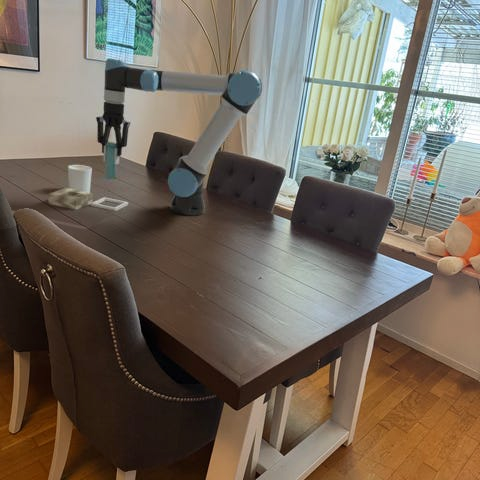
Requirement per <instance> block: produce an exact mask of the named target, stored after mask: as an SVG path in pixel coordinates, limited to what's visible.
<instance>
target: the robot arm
mask: <svg viewBox="0 0 480 480" xmlns="http://www.w3.org/2000/svg"><path fill="white" fill-rule="evenodd" d="M103 89H104V92H103V100H104V101H103V113H102V116H96V117H95V120H96V122H97V143H99V144H101V153H102V154H103V163H106V152H107V146H106V142H109V138H110V134H111V130H112V128H113V130H114V134H115V143H116V144H117V147H116V148H115V155H114V164H116V165H119V164H120V157H121V156H122V152H123V151H122V149H123V148H125V147H127V145H128V137H129V128H130V125H131V122H130V121H127V120H126V119H125V118H124V112H125V105H124V103H125V95H126V90H125V89H133V90H138V91H142V92H143V91H144V92H145V93H147V92H152V93H154V92H156V91H160V92H161V91H164V92H175V93H177V92H178V93H188V94H199V95H200V94H202V95H210V96H211V95H213V96H214V95H215V96H220V99H221V103H220V105H219V107H218V108H217V109H216V111H215V112H214V114H213V116H212V117H211V119H210V121H209V122H208V123H207V125H206V127H205V129H204V130H203V131H202V133H201V135H200V136H199V138H198V139H197V141H196V142H195V143H194V145H193V147H191V150H190V151H189V153H188V155H183V156H181V157H179V158H178V162H177V165H176V166H175V167H174V169H172V171H171V172H169V175H168V177H167V178H168V179H167V184H168V185H167V186H168V188H169V190H170V191H171V192H172V194H174V195H173V198H172V200H171V202H170V205H169V207H170V210H171V211H172V212H174V213H176V214H179V213H180V214H179V215H183V214H184V215H185V216H200V215H204V214H205V211H206V206H205V201H204V196H203V194H204V186H205V178H206V176H207V174H208V169H207V168H208V166H209V164H210V163H211V162H212V160H213V158H214V157H215V155H216V154H217V152H218V150H219V149H221V146H222V145H223V143H224V142H225V141H226V138H228V136H229V134H230V133H231V131H232V130H233V129H234V127H235V125H236V124H237V123H238V121H239V119H240V118H241V117H242V116H243V117H244V116H247V115H248V113H249V111H251V109H252V108H253V106H254V104H255V103H256V101H258V99H259V98H260V96H261V94H262V91H263V83H262V80H261V78H260V77H259V75H257V74H256V73H254V72H252V71H251V70H245V69H244V70H239V71H237V72H235V73H233V72H228V73H227V74H225V75H223V74H222V75H221V74H211V73H209V74H208V73H197V72H195V73H194V72H182V71H170V70H159V69H158V70H156V69H144V68H135V67H130V66H128V65H127V61H125V60H122V59H115V58H107V59H106V60H105V68H104V88H103ZM104 123H105V124H104ZM121 125H122V126H121ZM121 127H122V128H121ZM121 129H122V132H121Z"/></svg>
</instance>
